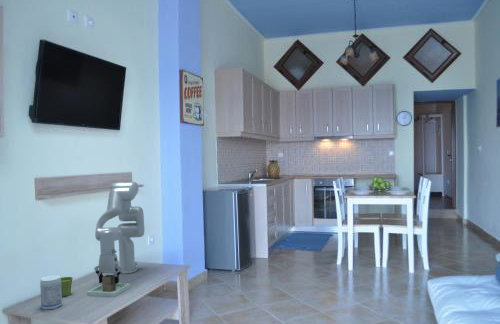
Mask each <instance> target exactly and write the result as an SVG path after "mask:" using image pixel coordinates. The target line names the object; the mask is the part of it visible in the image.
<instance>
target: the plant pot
mask: <svg viewBox="0 0 500 324" xmlns="http://www.w3.org/2000/svg"><path fill="white" fill-rule="evenodd" d="M73 279H74V277H73V276H63V277H61V293H62V298H64V297H65V296H66V297H68V296H70V295H71V294H72V284H73V283H72V282H73V281H74V280H73Z"/></svg>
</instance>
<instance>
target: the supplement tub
mask: <svg viewBox="0 0 500 324" xmlns="http://www.w3.org/2000/svg"><path fill="white" fill-rule="evenodd" d="M61 278H62V277H61V275H57V274H55V275H48V276H44V277H41V278H40V283H39V285H40V286H39V287H40V308H42V309H43V310H54V309H58V308H60V307H61V306H62V305H63V301H62V300H63V299H62V298H63V297H62V293H61Z"/></svg>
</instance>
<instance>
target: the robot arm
mask: <svg viewBox="0 0 500 324" xmlns="http://www.w3.org/2000/svg"><path fill="white" fill-rule="evenodd" d="M109 189H110V190H109V193H108V194H109V195H108V199H107V200H108V201H107V208H106V211H105V212H104V213H103V214H102V215H101V216H100V217H99V218H98V220H97V223H96V226H95V235H94V236H95V239H96V240H97V241H99V243H100V244H99V246H100V255H99V258H98V265H97V266H95V267H94V271H95V273H96V275H97V277H98V284H102V277H103V276H104V274H112V275H115V277H114V283H115V284H117V283H120V276H121V274H122V275H123V274H125V275H126V274H132V273H136V272H137V271H138V268H137V267H136V266H137V265H138V262H137V261H136V260H135V244H134V241H133V240H132V238H133V239H134V238H141V237H143V236H144V235H145V214H144V210H143V207H141V206H133V205H132V201H133V200H134V199H135V198H136V196H137V194H138V193H139V184H138V183H137V182H135V181H120V182H119V181H117V182H112V183H111V184H110V185H109ZM116 217H118V220H119V221H120V222H123V223H120V224H118V225H117V226H116V227H114V226H113V227H111V226H110V227H104V225H105V224H106V223H107V222H108V221H109V220H111V219H113V218H116ZM124 222H125V223H124ZM116 241H118V251H117V250H116V249H115V245H116V244H115V242H116ZM117 252H118V256H117ZM118 257H119V259H118Z"/></svg>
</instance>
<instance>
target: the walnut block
mask: <svg viewBox="0 0 500 324" xmlns="http://www.w3.org/2000/svg"><path fill="white" fill-rule="evenodd" d="M114 277H115V275H114V274H105V275H103V277H102V283H101V284H102V287H103V292H111V291H113V290H115V289H116V284H115V283H114Z"/></svg>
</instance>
